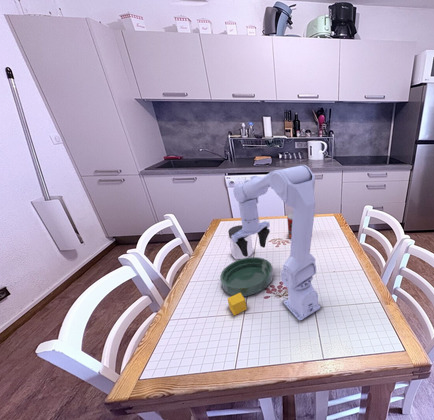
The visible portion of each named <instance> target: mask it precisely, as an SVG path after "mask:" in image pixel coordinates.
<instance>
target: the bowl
mask: <svg viewBox="0 0 434 420" xmlns="http://www.w3.org/2000/svg"><path fill="white" fill-rule="evenodd" d="M273 271H274V270H273V266H272V263H271V262H270V261H269V260H268V259H265V258H263V257H255V256H249V257H248V258H244V259H236V260H235V261H233V262H231V263H229V264H228V265H226V266H225V267H224V269H223V270H222V271H221V273H220V277H219V278H220V284H221V288H222V290H223V291H224V292H225V293H227V294H228V295H230V296H234V295H236V294H238V293H241V294H242V296H243V297H247V296H252V295H256V294H258V293H260V292H261V291H263V290H264V289H266V288H267V287H268V286H269V285H270V284H271V283H272V281H273V278H274V272H273Z"/></svg>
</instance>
